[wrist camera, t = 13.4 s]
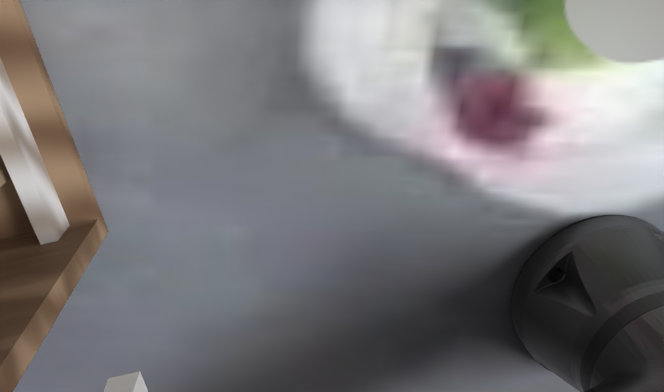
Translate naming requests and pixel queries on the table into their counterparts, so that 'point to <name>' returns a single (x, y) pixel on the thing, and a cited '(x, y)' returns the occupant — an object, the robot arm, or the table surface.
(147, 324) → the table surface
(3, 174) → the door panel
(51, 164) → the wooden rack
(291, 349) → the table surface
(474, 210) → the table surface
